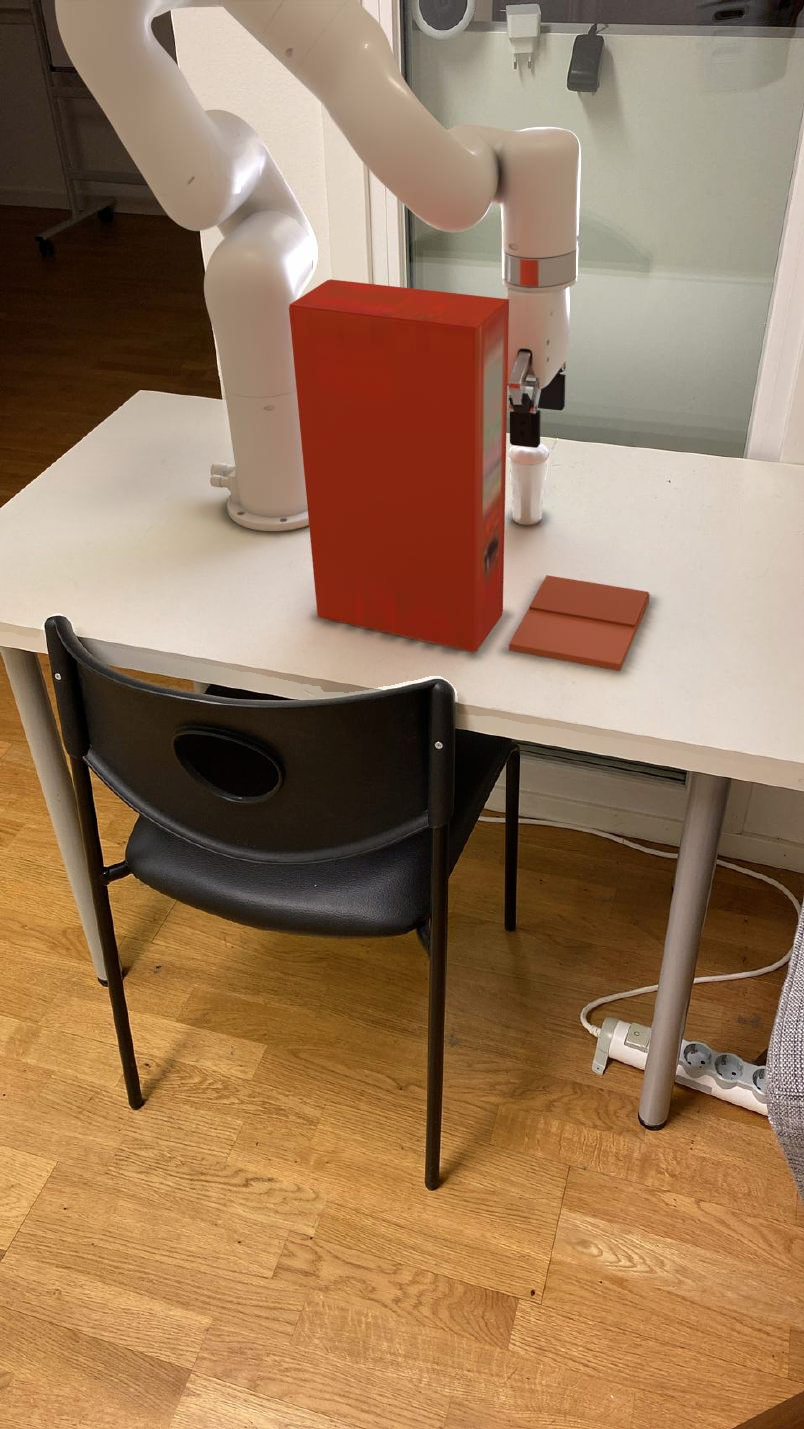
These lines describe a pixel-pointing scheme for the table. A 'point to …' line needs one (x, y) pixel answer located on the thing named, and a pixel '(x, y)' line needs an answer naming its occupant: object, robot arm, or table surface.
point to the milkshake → (528, 482)
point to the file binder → (404, 456)
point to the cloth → (581, 622)
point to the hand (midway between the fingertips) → (537, 426)
